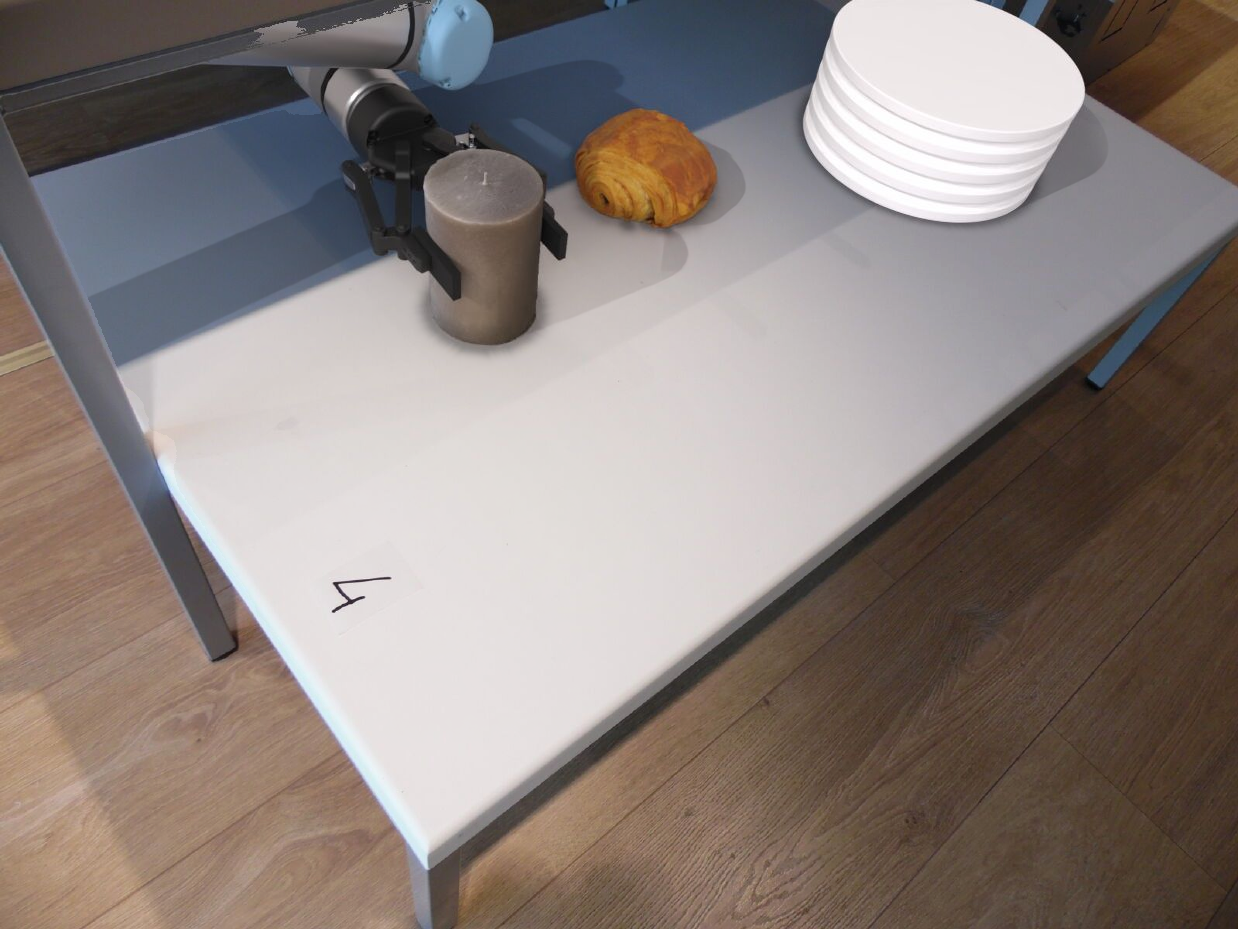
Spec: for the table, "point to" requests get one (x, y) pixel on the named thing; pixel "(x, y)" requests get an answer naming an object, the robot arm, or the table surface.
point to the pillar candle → (486, 242)
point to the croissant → (645, 169)
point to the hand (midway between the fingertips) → (511, 266)
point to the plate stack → (940, 106)
